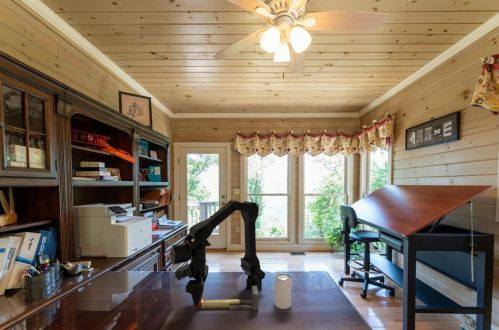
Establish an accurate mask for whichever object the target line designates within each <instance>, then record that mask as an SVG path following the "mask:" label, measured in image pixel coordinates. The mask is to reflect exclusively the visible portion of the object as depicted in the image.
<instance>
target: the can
mask: <svg viewBox="0 0 499 330" xmlns="http://www.w3.org/2000/svg"><path fill="white" fill-rule="evenodd" d="M273 297H274V301H273V302H274V303H273V304H274V306H275V307H276V308H278V309H281V310H283V309H284V310H287V309H289V308H291V307H292V280H291V276H290V275H289V274H287V273H277V274H275V278H274V296H273Z"/></svg>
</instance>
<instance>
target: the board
mask: <svg viewBox="0 0 499 330" xmlns="http://www.w3.org/2000/svg"><path fill="white" fill-rule="evenodd" d="M228 309H229V310H252V311H257V312H258V311H259V290H258V289H257V286H252V290H251V299H240V305H232V306H229V308H228Z"/></svg>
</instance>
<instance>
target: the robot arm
mask: <svg viewBox="0 0 499 330" xmlns="http://www.w3.org/2000/svg"><path fill="white" fill-rule="evenodd" d="M259 208H260V207H259V204H258V203H256V202H252V201H249V200H248V201H247V200H245V201H242V202H241V201H238V200H233V199H230V200H228V201H227V203H226V204H224V205H223V206H222V207H220V208H219V209H218V210H217V211H216V212H214V213H213V214H211V216H209V217H208V218H206V219H204V220H200V221H199V222H197V223H195V224H193V225H192V226H190V228H189V231H188V233H187V235H186V236H185V238H184V240H183V243H178V244H176V243H175V244H172V245H171V248H170V251H169V261H170V264H171V265H172V266H173V265H178V264H183V263H187V262H189V261H190V262H189V264H185V265H182V266H180V267H178V268H176V270H175V271H174V278H175V279H176V280H177V281H180V280H182V279H185V278H187V277H188V279H189V280H188V281H187V282H186V285H185V293H187V294H189V295H191V298H192V302H194V306H195V307H197V306H198V304H199V301H200V299H201V296H202V294H203V295H204V290H205V283H206V281H207V278H208V275H209V265H208V264H207V247H211V246H212V244H211V242H210V241H208V239H209V237H210V236H212V234H213V232H214V230H215V229H216V227H218V226H219V225H220V224H222V223H223V222H224V221H225V220H226V219H228V218H229V217H230V216H232V214H233V213H235V212H236V211H238V212H240V216H241V218H242V219H243V225H244V227H243V228H244V256H243V257H240V266H239V267H240V268H241V270H242V271H243V272H244V275H247V278H245V279H246V280H245V288H246V289H245V290H247V291H248V290H249V291H252V286H257V289H258V291H260V290H262V288H263V280H264V279H265V277H266V272H265V271H263V269H262V267H261V264H260V259H259V257H258V255H257V241H256V240H257V238H256V235H257V234H256V233H257V232H256V221H257V219H258V217H259V213H260V209H259Z"/></svg>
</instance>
